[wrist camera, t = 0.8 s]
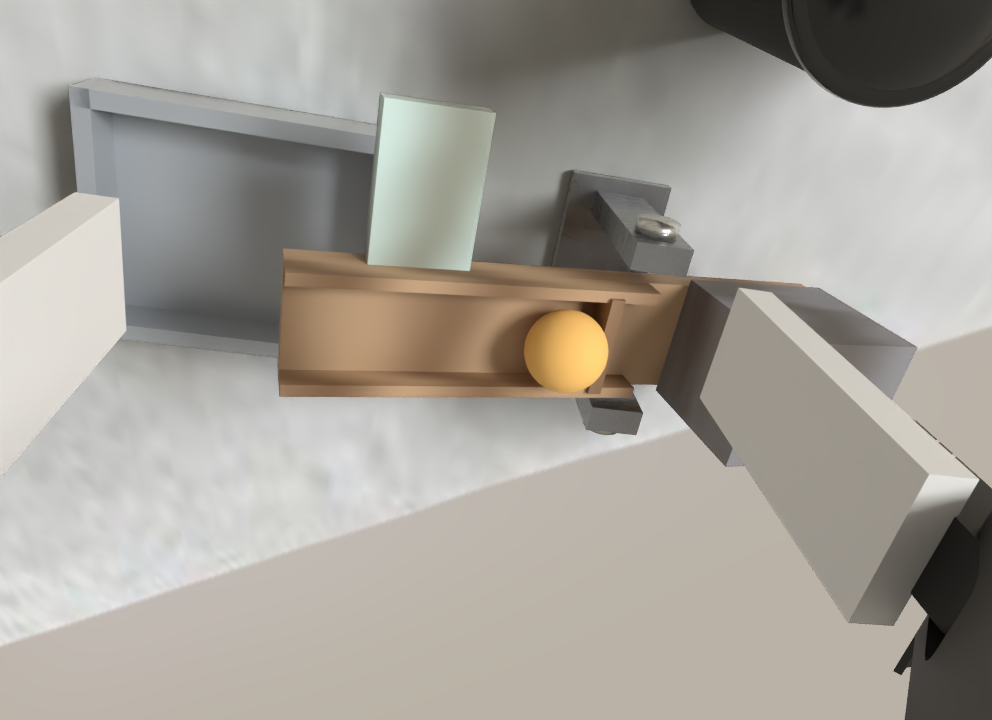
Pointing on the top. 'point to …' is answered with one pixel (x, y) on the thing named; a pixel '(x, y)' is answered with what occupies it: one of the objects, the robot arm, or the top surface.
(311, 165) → the dish
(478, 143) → the lever
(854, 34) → the drinking cup
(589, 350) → the ball
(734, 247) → the top surface
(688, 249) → the stand
